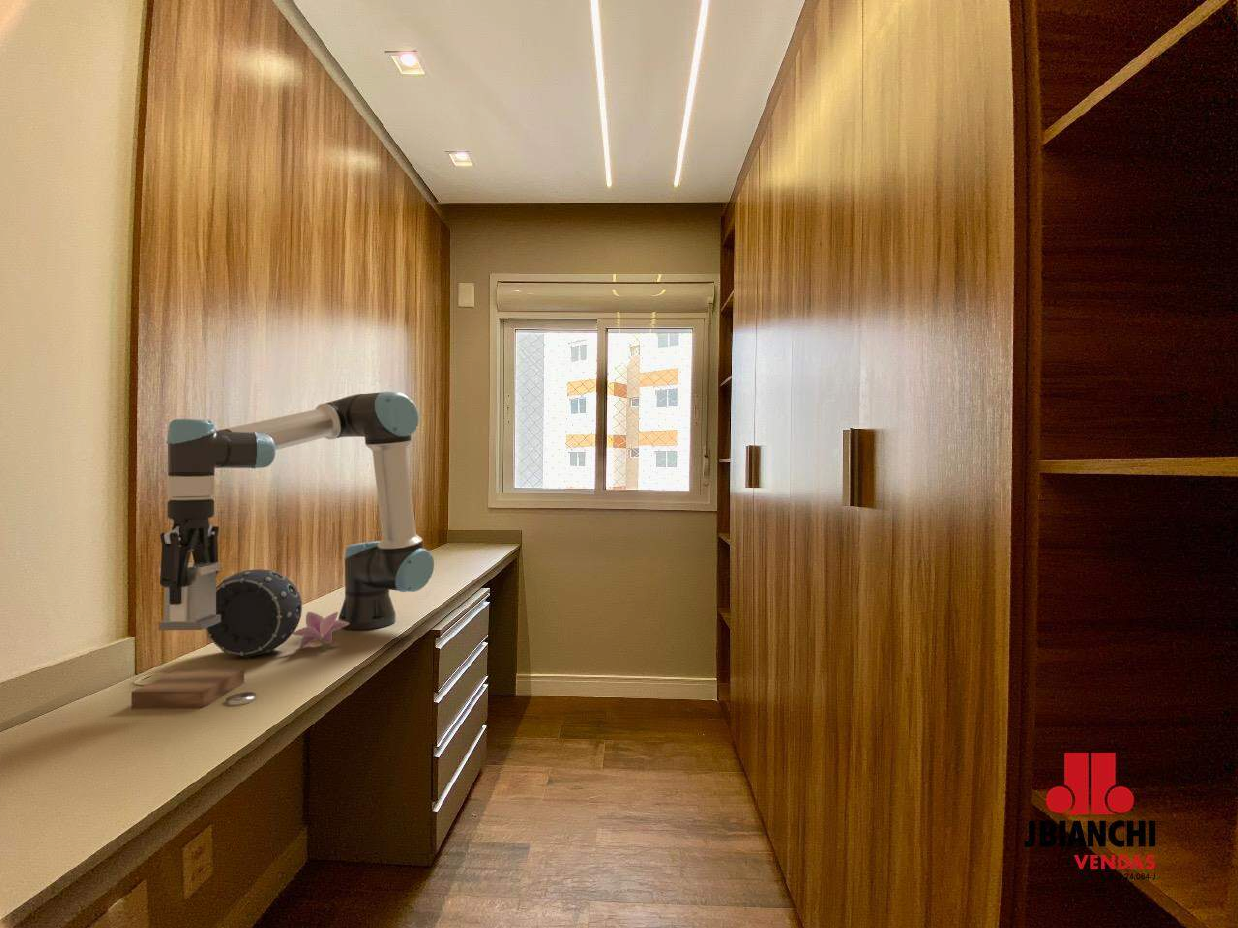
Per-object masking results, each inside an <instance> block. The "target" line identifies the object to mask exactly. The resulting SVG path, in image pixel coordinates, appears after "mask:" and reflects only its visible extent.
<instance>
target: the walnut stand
mask: <svg viewBox="0 0 1238 928" xmlns="http://www.w3.org/2000/svg"><path fill="white" fill-rule="evenodd" d="M242 683H243V684H244V683H245V668H243V667H241V668H238V667H237V668H235V667H234V668H229V667H228V668H227V667H226V668H225V667H224V668H221V667H220V668H179V669H177V670H175V671H173V672H171V673H168V674H166V675H164V676H163V677H160V678H158V679H155V680H154V681H152V682H149V683H148V684H146V685H143V686H141V687H139V688H137V689H136V690H133V691H131V700H130V701H131V707H130V708H131V709H190V708H191V709H203V708H206V707H207V706H208V705H210V704H211V703H214V702H215V701H217V700H218V699H220V698H221V697H223V696H225V695H227V694H228V693H229V692H232V691H233V690H234V689H237V688H238V687H239V685H240V686H242V685H243V684H242Z"/></svg>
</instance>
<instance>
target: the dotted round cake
mask: <svg viewBox="0 0 1238 928" xmlns="http://www.w3.org/2000/svg"><path fill="white" fill-rule="evenodd" d="M302 606H303V603H302V598H301V595H300V592H299V591H298V588H297V587H296V586H295V584H294V583H293V581H291V580H290V579H289V578H287V576H284V575H283V574H281V573H279V572H276V571H273V570H270V569H265V568H261V569H258V568H257V569H247V570H243V571H241V572H239V571H238V572H237V573H234V574H233V575H231V576H227V577H225V578H224V579H223V580H222V581H221V582H220V583H219V584H218V585H216V615H221V622H220V623H218V624H215V625H213V626H210V627H208V628H205V631H206V633H207V637H206V638H209V639H210V640H211V642H212V644H214V645H215V646H216V647H218V649H220V650H221V652H223V653H224V654H225V653H226V654H232V655H234V656H241V657H243V658H245V659H246V658H250V657H253V656H259V655H264V654H266V653H269V652H271V651H273V650H275V649H276V648H278V647H279V646H281V645H283V644H284V643H285V642H287V641H288V640H289V638H291V636H292V635H293V634H292V633H293V632H295V631H296V629H297V627H298V626H299V623H300V620H301V618H302V612H303V607H302Z"/></svg>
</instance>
